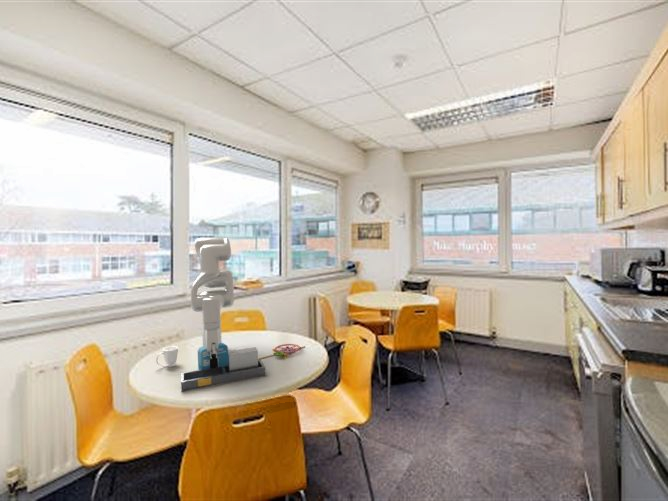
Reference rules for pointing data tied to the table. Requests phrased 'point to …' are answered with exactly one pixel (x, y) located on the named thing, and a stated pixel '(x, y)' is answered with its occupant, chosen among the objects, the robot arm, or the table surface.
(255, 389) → the table surface
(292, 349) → the mechanical gear assembly
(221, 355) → the data package
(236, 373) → the rack
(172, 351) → the cup
